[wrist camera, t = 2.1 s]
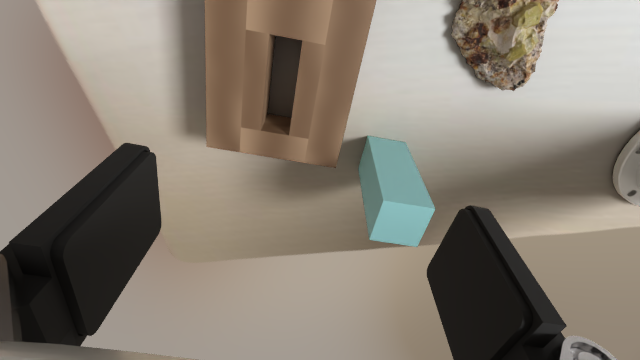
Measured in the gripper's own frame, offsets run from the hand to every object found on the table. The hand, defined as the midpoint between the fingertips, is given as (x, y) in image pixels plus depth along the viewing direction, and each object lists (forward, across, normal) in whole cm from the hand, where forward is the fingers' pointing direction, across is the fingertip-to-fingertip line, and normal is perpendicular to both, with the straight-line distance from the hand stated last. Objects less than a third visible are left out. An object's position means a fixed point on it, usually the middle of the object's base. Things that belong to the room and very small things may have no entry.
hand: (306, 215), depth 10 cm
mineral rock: (+23, -14, -5) cm, 28 cm away
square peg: (+22, -8, +9) cm, 25 cm away
